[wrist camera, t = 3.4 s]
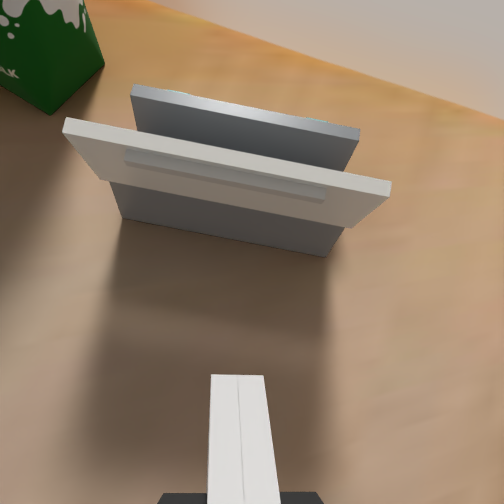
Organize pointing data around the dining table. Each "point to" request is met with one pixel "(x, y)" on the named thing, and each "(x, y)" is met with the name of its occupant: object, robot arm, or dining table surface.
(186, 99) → the stand
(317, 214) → the cover
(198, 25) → the dining table surface
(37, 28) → the milk carton
